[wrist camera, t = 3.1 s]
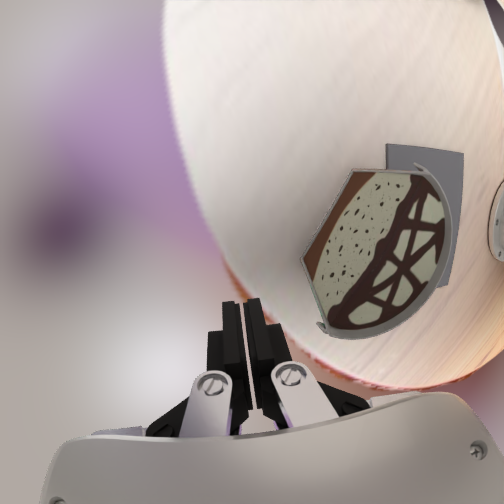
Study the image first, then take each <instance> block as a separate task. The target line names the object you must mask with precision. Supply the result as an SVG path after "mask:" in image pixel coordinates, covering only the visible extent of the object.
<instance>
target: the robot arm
mask: <svg viewBox="0 0 504 504" xmlns="http://www.w3.org/2000/svg"><path fill="white" fill-rule="evenodd" d="M489 246H490V250H491V253H492V255H493V256H494V257H495V258H496V259H498V260H499V261H502V262H504V182H503V183H502V184H501V186H500V188H499V190H498V192H497V194H496V196H495V199H494V203H493V206H492V210H491V215H490V221H489ZM243 307H244V316H245V324H246V333H247V342H248V350H249V357H250V364H251V371H252V377H253V384H254V391H255V397H256V404H257V409H260V408H262V410H263V415H265V416H266V417H268V418H270V419H272V420H273V422H274V426H275V428H276V431H269V432H262V433H254V434H245V435H241V431H242V427H241V424H242V423H243V422H244V421H245V420H246V419H247V418H248V417H249V414H248V410H253V405H252V398H251V392H250V384H249V376H248V369H247V361H246V353H245V346H244V338H243V330H242V322H241V314H240V306H239V303H238V304H235V303H234V301H228V302H222V311H223V312H222V314H223V330H222V331H211V332H208V347H207V372H204V373H202V374H201V375H199V376H198V377H197V378H196V379H195V381H194V383H193V386H192V389H191V393H190V396H189V397H188V398H186V399H185V400H184V401H182V402H181V403H180V404H178V405H177V406H176V407H174V408H173V409H171V410H170V411H169V412H167V413H166V414H164V415H163V416H161V417H160V418H159V419H157V420H156V421H154V422H153V423H152V424H151V425H150V426H149V427H148V428H142V426H139V427H130V428H121V429H111V430H100V431H96V432H94V433H93V434H91V435H89V436H83V437H78V438H74V439H71V440H69V441H66V442H65V443H63V444H62V445H61V446H60V447H59V448H58V450H57V451H56V453H55V455H54V457H53V459H52V461H51V463H50V465H49V468H48V471H47V474H46V477H45V481H44V484H43V488H42V492H41V496H40V501H39V504H504V456H503V454H502V453H501V451H500V449H499V447H498V446H497V444H496V443H495V441H494V439H493V438H492V436H491V434H490V433H489V431H488V430H487V429H486V427H485V426H484V424H483V423H482V421H481V420H480V419H479V418H478V416H477V415H476V413H474V411H473V410H472V409H471V408H470V407H469V405H468V404H466V402H464V401H463V400H462V399H461V398H460V397H458V396H457V395H454V394H452V393H447V392H430V393H420V392H417V391H411V392H406V393H399V394H393V395H386V396H378V397H371V399H370V400H364V399H363V398H361V397H358V396H356V395H353V394H350V393H347V392H345V391H342V390H339V389H336V388H334V387H331V386H329V385H326V384H323V383H321V382H318V381H316V379H315V378H314V376H313V374H312V373H311V371H310V370H309V368H308V367H307V366H306V365H304V364H302V363H300V362H296V361H292V358H291V355H290V352H289V348H288V345H287V342H286V339H285V336H284V333H283V330H282V327H281V324H280V323H279V324H272V325H266V323H265V319H264V315H263V311H262V307H261V303H260V299H259V298H254V299H247V303H243Z"/></svg>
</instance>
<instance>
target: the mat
mask: <svg viewBox="0 0 504 504" xmlns="http://www.w3.org/2000/svg"><path fill="white" fill-rule="evenodd" d="M414 162H415V163H417V164H419V165H421V166H423V167H425V168H426V169H427V170H428V171H429V172H430V173H431V174H432V175H433V176H434V177H435V179H436V180H437V181H438V182H439V184H440V186H441V187H442V189H443V191H444V193H445V195H446V198H447V201H448V203H449V207H450V211H451V216H452V228H453V233H452V245H451V251H450V256H449V259H448V262H447V266H446V269H445V271H444V273H443V276H442V278H441V280H440V282H439V284H438V285H437V287H436V288H438V287H442V286H446V285H448V281H449V277H450V273H451V268H452V264H453V259H454V253H455V248H456V242H457V236H458V229H459V221H460V213H461V203H462V190H463V167H464V153H458V152H453V151H446V150H440V149H433V148H425V147H416V146H407V145H397V144H386V170H407V171H419V170H418V169H417V168H416V167H415V165H414Z"/></svg>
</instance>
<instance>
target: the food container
mask: <svg viewBox="0 0 504 504" xmlns="http://www.w3.org/2000/svg"><path fill="white" fill-rule="evenodd" d="M414 165H415V167H416V168H417V169H418V170H419V171H407V170H383V169H352V171H351V172H350V174H349V176H348V178H347V180H346V181H345V183H344V185H343V187H342V189H341V190H340V192H339V194H338V196H337V197H336V199H335V201H334V203H333V204H332V206H331V208H330V210H329V211H328V213H327V215H326V216H325V218H324V220H323V222H322V223H321V225H320V227H319V228H318V230H317V232H316V233H315V235H314V237H313V238H312V240H311V242H310V243H309V245H308V247H307V248H306V250H305V252H304V253H303V255H302V257H301V258H300V260H301V263H302V265H303V268H304V270H305V273H306V276H307V278H308V281H309V283H310V286H311V289H312V291H313V294H314V297H315V300H316V302H317V305H318V308H319V310H320V313H321V316H322V319H323V322H324V323H320V322H317V323H316V324H317V325H318V327H319V328H320V329H321V330H322V331H323V332H324V333H326V334H329V336H331V337H335V338H339V339H348V340H356V339H366V338H370V337H375V336H378V335H380V334H383V333H386V332H388V331H390V330H392V329H394V328H396V327H398V326H399V325H401V324H402V323H404V322H405V321H406V320H408V319H409V318H410V317H411V316H413V315H414V314H415V313H416V312H417V311H418V310H419V309H420V308H421V307H422V306H423V305H424V304H425V303H426V301H427V300H428V299H429V297H430V296H431V295H432V293H433V292H434V290H435V289H436V287H437V285H438V284H439V282H440V280H441V278H442V276H443V273H444V271H445V269H446V266H447V262H448V259H449V256H450V251H451V245H452V233H453V228H452V216H451V211H450V207H449V203H448V201H447V198H446V195H445V193H444V191H443V189H442V187H441V186H440V184H439V182H438V181H437V180H436V179H435V177H434V176H433V175H432V174H431V173H430V172H429V171H428V170H427V169H426V168H425V167H423V166H421V165H419V164H417V163H415V162H414Z"/></svg>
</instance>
